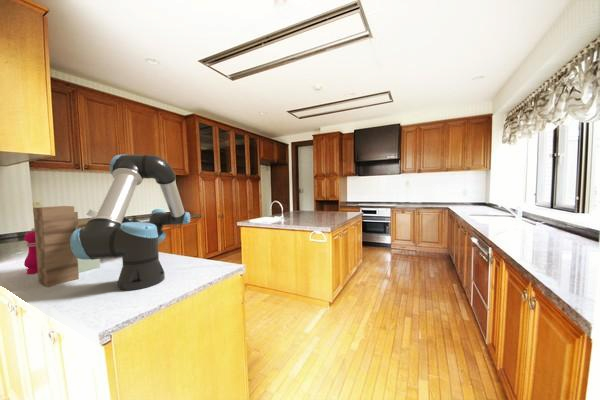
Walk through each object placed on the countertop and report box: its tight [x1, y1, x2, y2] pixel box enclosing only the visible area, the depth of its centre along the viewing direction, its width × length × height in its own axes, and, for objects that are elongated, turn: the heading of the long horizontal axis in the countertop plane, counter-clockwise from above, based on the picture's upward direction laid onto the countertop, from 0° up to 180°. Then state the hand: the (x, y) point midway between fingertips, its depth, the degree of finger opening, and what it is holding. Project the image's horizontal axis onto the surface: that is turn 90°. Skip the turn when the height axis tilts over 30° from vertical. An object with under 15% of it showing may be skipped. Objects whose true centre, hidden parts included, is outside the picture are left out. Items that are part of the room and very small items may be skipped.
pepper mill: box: [23, 227, 38, 275], centre depth 104 cm, size 7×7×20 cm
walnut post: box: [32, 205, 80, 288], centre depth 92 cm, size 9×9×30 cm
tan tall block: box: [74, 211, 96, 228], centre depth 107 cm, size 7×18×7 cm, turn 153°
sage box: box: [76, 227, 101, 274], centre depth 105 cm, size 7×12×20 cm, turn 153°
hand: (95, 212), depth 110 cm, fingers open, 13 cm apart
